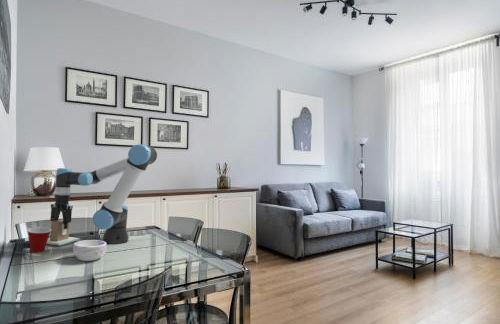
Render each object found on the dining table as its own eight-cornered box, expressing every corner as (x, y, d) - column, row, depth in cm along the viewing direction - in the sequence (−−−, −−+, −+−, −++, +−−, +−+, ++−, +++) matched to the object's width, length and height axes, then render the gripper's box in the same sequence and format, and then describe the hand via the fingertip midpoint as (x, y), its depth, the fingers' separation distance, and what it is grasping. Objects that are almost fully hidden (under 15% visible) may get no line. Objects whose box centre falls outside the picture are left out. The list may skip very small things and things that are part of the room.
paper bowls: (112, 257, 161) (113, 241, 162) (88, 265, 147) (89, 248, 147) (89, 252, 166) (90, 237, 167) (64, 260, 152) (65, 243, 152)
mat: (85, 241, 188) (85, 240, 188) (58, 249, 168) (58, 248, 168) (58, 237, 192) (58, 236, 193) (29, 244, 173) (29, 244, 173)
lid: (79, 239, 186) (81, 220, 186) (59, 245, 171) (60, 224, 172) (59, 237, 190) (60, 217, 190) (37, 242, 175) (38, 221, 175)
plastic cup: (37, 255, 155) (39, 232, 156) (19, 253, 158) (21, 229, 158) (55, 250, 166) (56, 228, 166) (38, 248, 168) (40, 226, 168)
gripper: (44, 193, 180) (41, 233, 179) (70, 195, 175) (67, 236, 175) (55, 192, 187) (52, 231, 186) (80, 195, 183) (77, 234, 182)
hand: (59, 233), depth 181 cm, fingers closed on lid, 5 cm apart
